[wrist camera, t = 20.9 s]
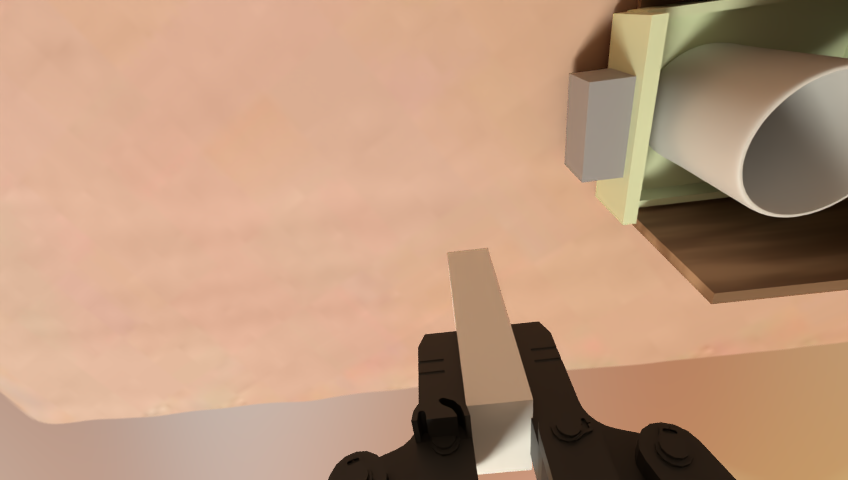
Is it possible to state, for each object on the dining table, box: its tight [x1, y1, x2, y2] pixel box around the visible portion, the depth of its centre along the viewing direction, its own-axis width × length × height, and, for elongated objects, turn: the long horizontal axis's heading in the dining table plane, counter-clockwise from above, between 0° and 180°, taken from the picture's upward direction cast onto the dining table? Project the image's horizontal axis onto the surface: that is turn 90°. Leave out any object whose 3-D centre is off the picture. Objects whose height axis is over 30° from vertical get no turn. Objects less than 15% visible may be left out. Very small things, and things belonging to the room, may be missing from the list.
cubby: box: [632, 0, 848, 304], centre depth 25 cm, size 17×17×15 cm
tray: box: [565, 0, 848, 225], centre depth 29 cm, size 14×20×5 cm
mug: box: [649, 43, 848, 217], centre depth 26 cm, size 12×8×11 cm
